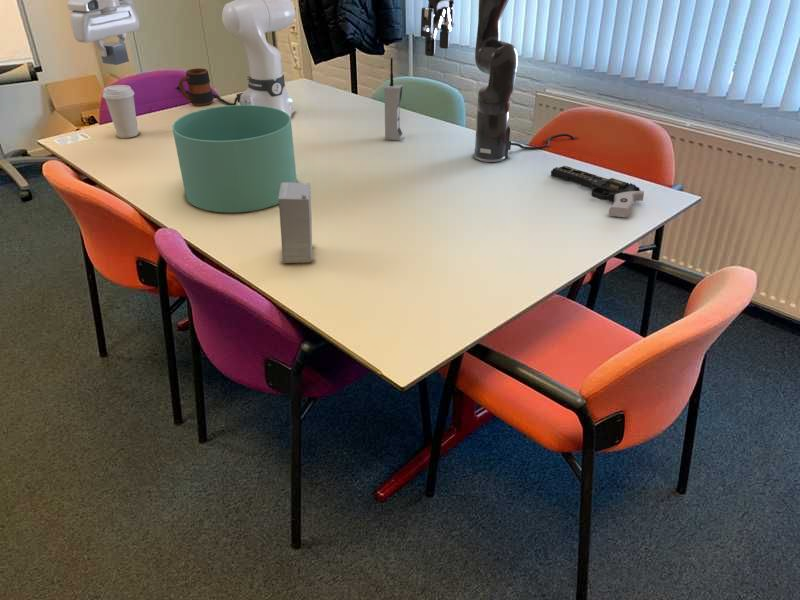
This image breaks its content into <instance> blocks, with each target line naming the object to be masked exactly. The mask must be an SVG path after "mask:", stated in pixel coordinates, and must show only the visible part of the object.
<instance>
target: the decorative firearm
mask: <svg viewBox="0 0 800 600" xmlns="http://www.w3.org/2000/svg"><path fill="white" fill-rule="evenodd" d="M550 176H551V177H553V178H556V179H559V180H563V181H565V182H571V183H574V184H577V185H580V186H582V187H584V188H588V189H590V192H591V195H590V196H591V197H592V198H595V199H597V200H600V201H609V202H612V203H613V204H612V205H611V206H610V207H609V208H608V215H609V216H611V217H619V218H626V217H628V216H629V215H630V214H631V212H632V211H633V208H634V202H643V201H644V196H645V190H640V189H641V188H640V187H638V186H637V185H636V184H634V183H632V182H630V183H629V182H626V181H623V180H619V179H616V178H614V177H610V178H605V177H603V176H599V175H596V174H593V173H590V172H587V171H583V170H581V169H576V168H573V167H571V166H568V165H563V166H559V167H558V166H556V167H553V168H552V170H551V171H550Z"/></svg>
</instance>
